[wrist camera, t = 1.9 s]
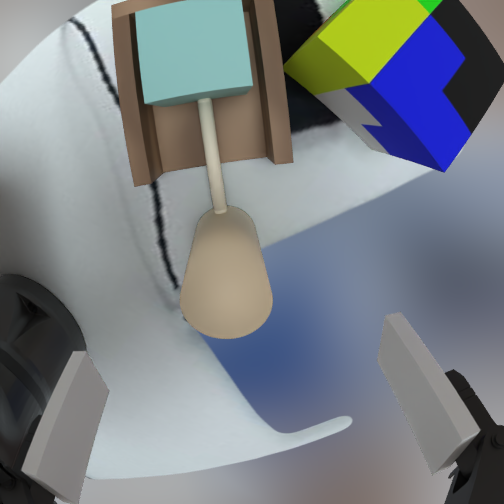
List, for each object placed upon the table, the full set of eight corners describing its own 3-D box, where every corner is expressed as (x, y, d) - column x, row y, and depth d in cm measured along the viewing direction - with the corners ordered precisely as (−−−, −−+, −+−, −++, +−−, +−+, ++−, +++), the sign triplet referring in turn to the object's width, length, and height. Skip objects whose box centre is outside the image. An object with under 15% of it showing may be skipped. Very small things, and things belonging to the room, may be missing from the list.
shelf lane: (150, 174, 23) (134, 186, 19) (130, 22, 17) (111, 5, 13) (281, 154, 23) (293, 162, 19) (261, 0, 17) (269, -22, 13)
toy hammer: (195, 266, 26) (183, 343, 17) (158, 37, 18) (116, -8, 9) (264, 257, 26) (284, 331, 17) (236, 24, 18) (243, -33, 9)
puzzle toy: (371, 149, 23) (444, 172, 14) (280, 68, 20) (317, 36, 11) (430, 75, 20) (509, 72, 11) (351, -4, 17) (411, -49, 8)
